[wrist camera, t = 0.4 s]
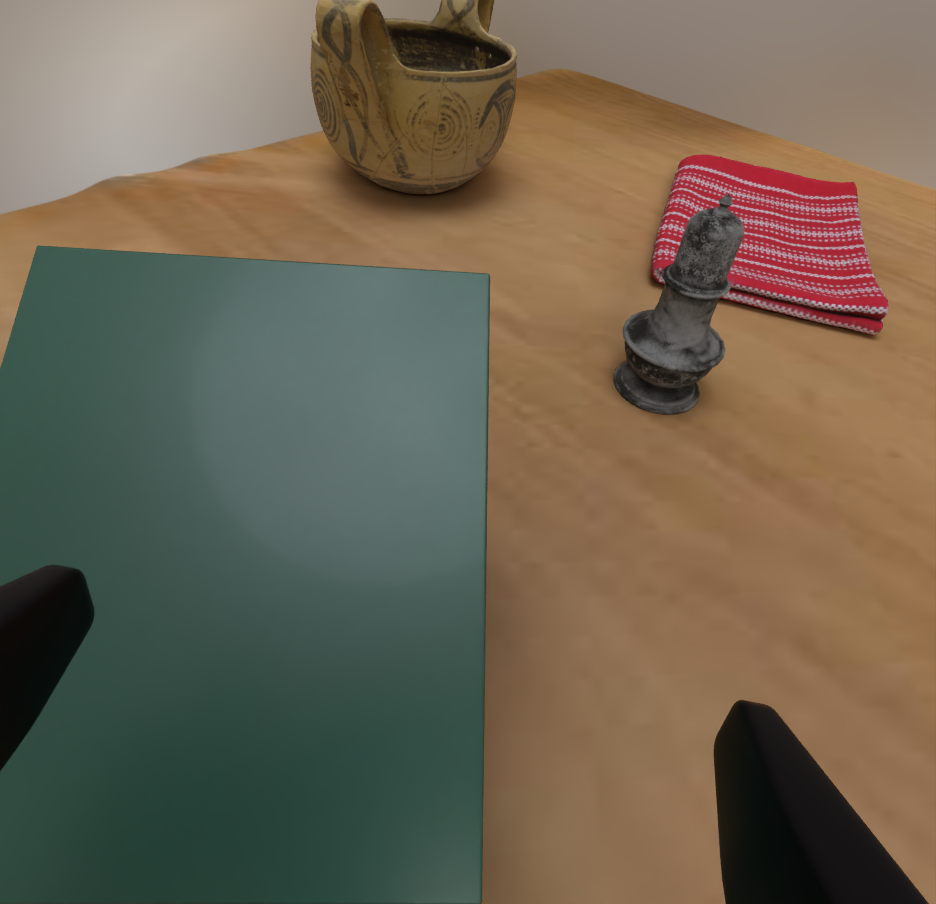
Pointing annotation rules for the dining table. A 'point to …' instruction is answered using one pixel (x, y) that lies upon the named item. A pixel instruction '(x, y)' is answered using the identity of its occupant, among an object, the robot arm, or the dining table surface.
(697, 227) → the dark grey tall piece
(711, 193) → the dish towel
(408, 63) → the ceramic bowl
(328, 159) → the dining table surface
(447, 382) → the lid
